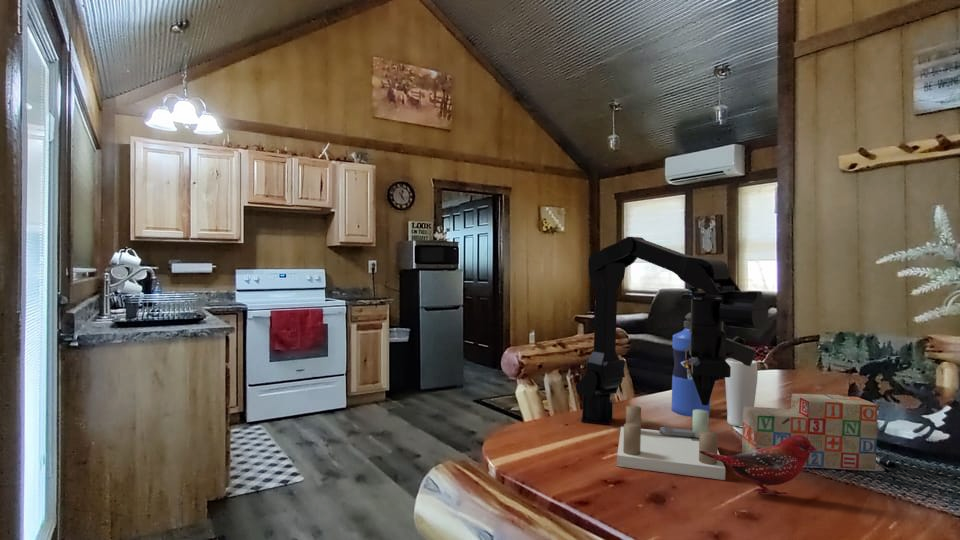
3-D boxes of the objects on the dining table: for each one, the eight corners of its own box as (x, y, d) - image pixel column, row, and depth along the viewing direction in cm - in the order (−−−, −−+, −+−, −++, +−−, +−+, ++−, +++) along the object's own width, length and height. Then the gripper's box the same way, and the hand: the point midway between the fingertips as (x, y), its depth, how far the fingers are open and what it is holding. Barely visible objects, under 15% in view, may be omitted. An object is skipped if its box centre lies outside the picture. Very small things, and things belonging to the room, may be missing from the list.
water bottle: (667, 405, 139) (669, 310, 138) (704, 407, 137) (707, 311, 137) (675, 415, 129) (678, 313, 129) (715, 418, 128) (718, 315, 128)
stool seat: (616, 466, 96) (617, 427, 96) (620, 435, 113) (621, 403, 113) (725, 480, 91) (726, 439, 91) (712, 446, 108) (712, 411, 108)
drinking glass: (748, 421, 126) (750, 358, 126) (761, 430, 119) (763, 363, 119) (719, 420, 126) (721, 357, 126) (729, 428, 120) (731, 362, 120)
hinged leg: (660, 434, 107) (660, 410, 107) (658, 430, 110) (659, 406, 110) (709, 439, 105) (710, 414, 105) (706, 434, 108) (707, 410, 108)
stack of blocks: (755, 464, 99) (756, 398, 98) (741, 452, 105) (743, 390, 105) (876, 470, 97) (878, 403, 97) (855, 458, 103) (857, 395, 103)
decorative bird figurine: (819, 502, 83) (821, 439, 82) (700, 492, 86) (701, 430, 86) (811, 494, 85) (813, 433, 85) (696, 484, 89) (697, 425, 88)
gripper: (763, 332, 91) (761, 422, 91) (743, 321, 108) (742, 397, 109) (694, 328, 94) (692, 416, 94) (685, 318, 112) (684, 392, 112)
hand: (704, 404), depth 102 cm, fingers closed
